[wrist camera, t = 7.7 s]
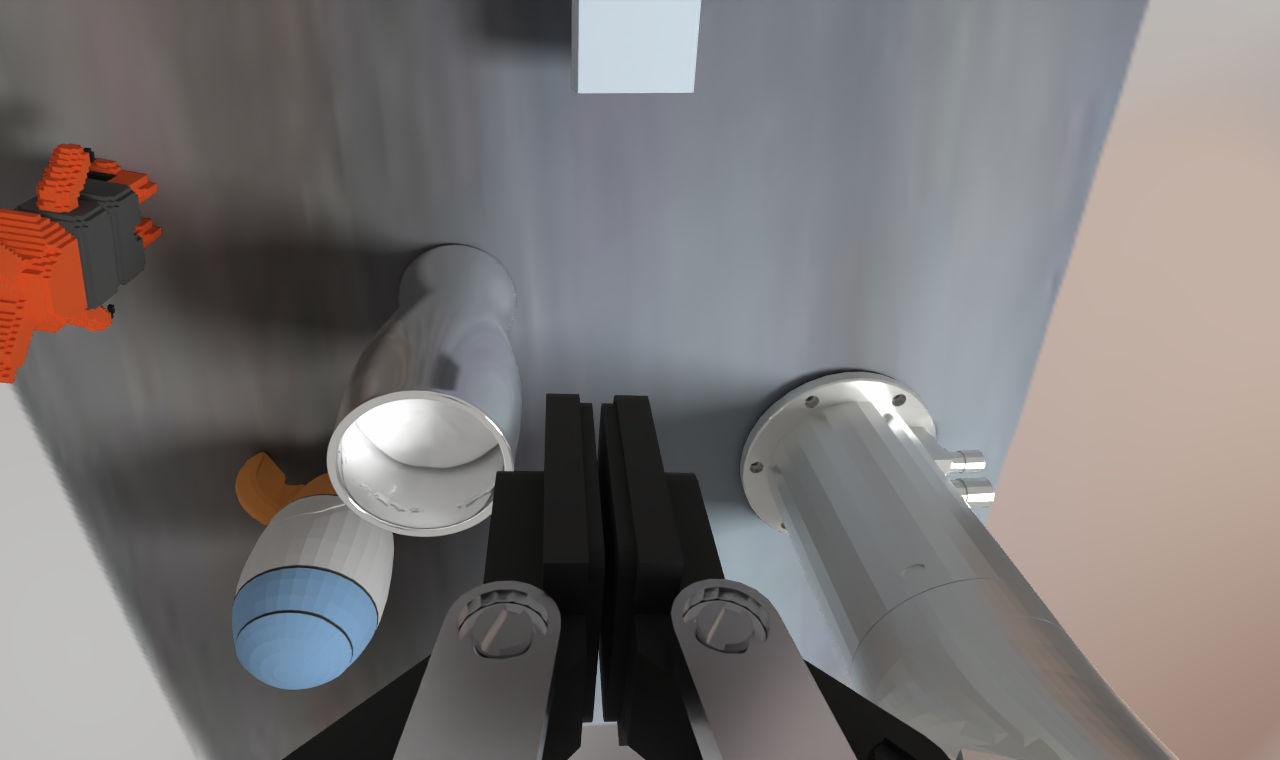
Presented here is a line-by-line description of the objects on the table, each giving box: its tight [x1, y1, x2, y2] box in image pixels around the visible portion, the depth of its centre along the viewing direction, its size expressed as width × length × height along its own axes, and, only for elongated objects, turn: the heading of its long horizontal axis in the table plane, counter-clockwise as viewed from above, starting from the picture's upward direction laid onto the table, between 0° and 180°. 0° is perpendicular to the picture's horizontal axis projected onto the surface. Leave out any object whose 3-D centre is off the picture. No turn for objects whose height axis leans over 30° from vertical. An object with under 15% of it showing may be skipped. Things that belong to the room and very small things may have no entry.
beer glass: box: [327, 245, 522, 537], centre depth 33 cm, size 7×7×15 cm
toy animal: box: [0, 144, 162, 384], centre depth 30 cm, size 8×5×12 cm
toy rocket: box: [232, 452, 394, 690], centre depth 39 cm, size 10×11×15 cm
